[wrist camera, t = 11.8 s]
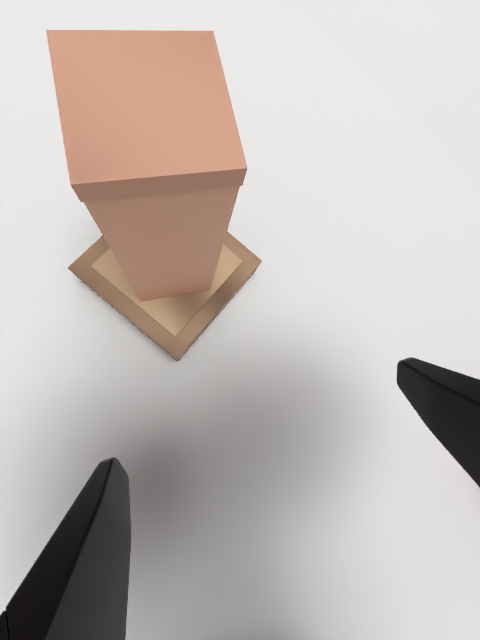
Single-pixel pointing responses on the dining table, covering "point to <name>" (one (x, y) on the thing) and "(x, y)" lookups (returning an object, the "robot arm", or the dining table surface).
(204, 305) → the base block
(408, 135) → the dining table surface
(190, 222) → the terracotta block
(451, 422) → the robot arm
